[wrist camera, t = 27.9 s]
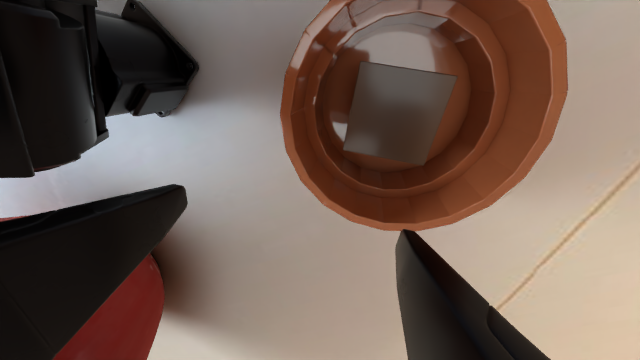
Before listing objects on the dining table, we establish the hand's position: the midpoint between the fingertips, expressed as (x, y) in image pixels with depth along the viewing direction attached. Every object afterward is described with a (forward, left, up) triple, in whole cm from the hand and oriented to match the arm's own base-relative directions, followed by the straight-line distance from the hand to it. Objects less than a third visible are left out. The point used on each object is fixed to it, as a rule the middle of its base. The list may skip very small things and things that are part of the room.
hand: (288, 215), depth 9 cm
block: (+1, +5, -11) cm, 12 cm away
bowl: (+1, +6, -12) cm, 13 cm away
